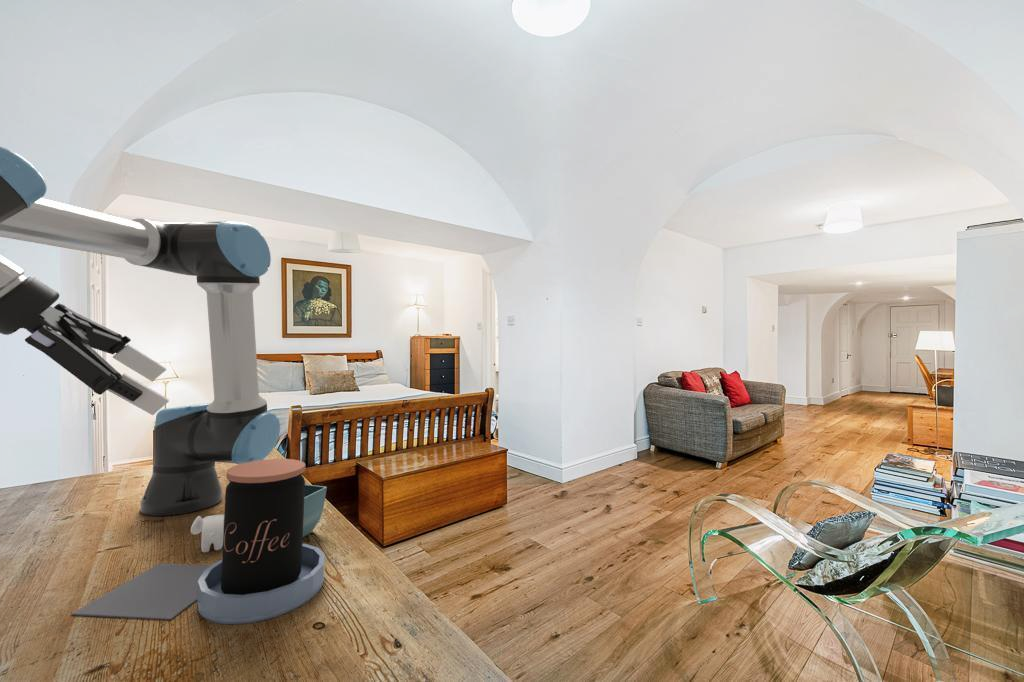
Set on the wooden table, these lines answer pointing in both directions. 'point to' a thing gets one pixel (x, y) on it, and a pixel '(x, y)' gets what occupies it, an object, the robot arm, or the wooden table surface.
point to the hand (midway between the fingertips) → (160, 390)
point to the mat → (150, 594)
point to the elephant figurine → (209, 531)
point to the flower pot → (313, 506)
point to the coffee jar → (263, 526)
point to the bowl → (263, 603)
